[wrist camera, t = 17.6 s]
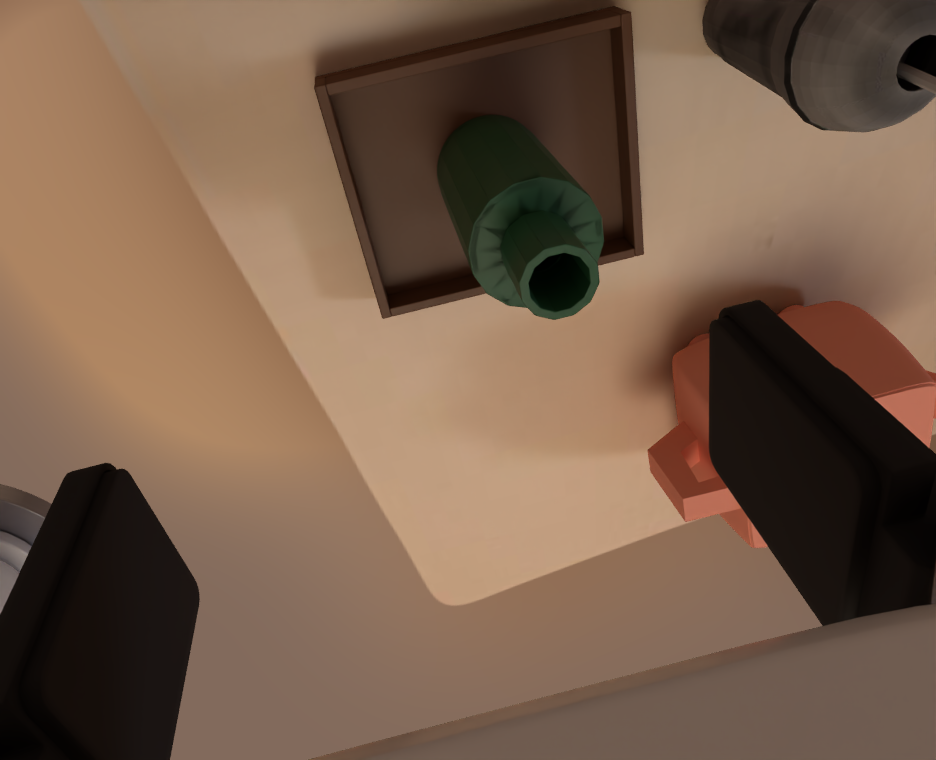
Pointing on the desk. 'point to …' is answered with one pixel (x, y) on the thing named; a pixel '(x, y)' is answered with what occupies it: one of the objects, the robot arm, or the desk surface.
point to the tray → (461, 99)
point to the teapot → (837, 339)
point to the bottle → (520, 217)
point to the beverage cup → (833, 55)
